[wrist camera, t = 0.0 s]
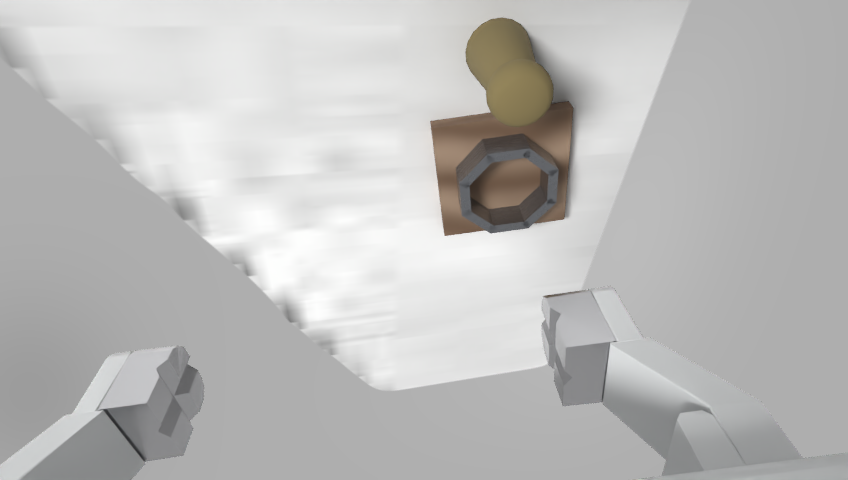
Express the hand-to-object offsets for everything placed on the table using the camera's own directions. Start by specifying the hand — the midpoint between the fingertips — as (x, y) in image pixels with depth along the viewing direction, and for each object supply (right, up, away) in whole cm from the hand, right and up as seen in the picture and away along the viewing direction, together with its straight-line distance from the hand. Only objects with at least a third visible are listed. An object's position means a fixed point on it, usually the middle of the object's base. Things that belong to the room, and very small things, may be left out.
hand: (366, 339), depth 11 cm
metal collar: (+10, +9, +42) cm, 44 cm away
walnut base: (+10, +10, +43) cm, 46 cm away
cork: (+8, +20, +35) cm, 41 cm away
